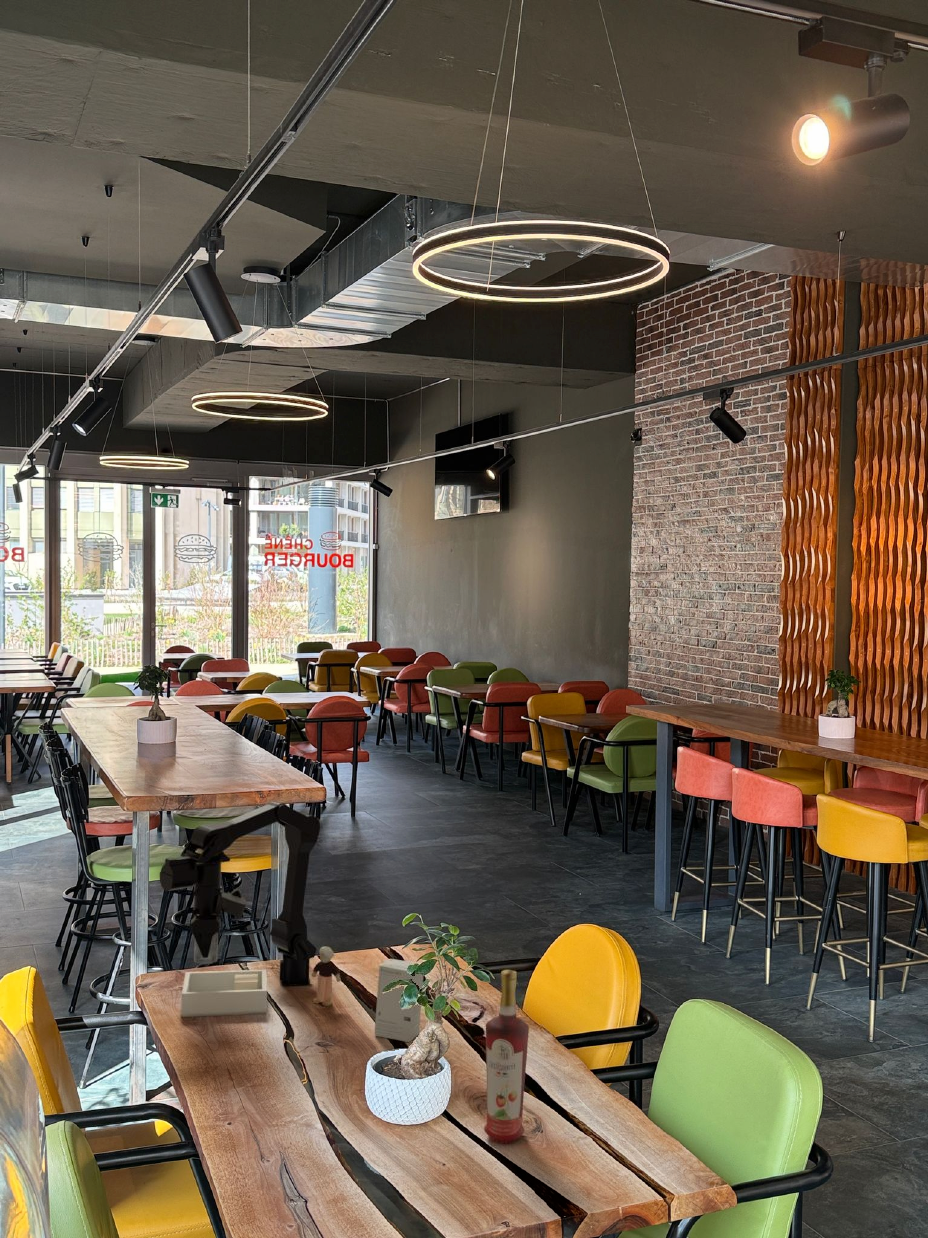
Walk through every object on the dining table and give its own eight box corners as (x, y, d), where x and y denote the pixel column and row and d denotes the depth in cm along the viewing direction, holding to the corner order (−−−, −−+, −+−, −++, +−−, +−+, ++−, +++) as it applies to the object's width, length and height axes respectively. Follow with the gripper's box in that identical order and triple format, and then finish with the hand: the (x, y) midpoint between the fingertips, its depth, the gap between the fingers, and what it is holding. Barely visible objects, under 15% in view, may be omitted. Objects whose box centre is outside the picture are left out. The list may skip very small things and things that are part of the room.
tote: (265, 991, 251) (266, 969, 251) (266, 1013, 237) (266, 990, 237) (185, 994, 248) (185, 972, 248) (181, 1017, 234) (181, 994, 234)
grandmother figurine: (305, 1003, 244) (307, 947, 244) (312, 998, 248) (314, 942, 247) (337, 1008, 242) (338, 951, 242) (344, 1002, 245) (345, 946, 245)
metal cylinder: (194, 957, 243) (195, 926, 243) (217, 956, 244) (218, 925, 244) (193, 964, 238) (194, 933, 238) (217, 964, 239) (217, 932, 239)
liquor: (529, 1131, 187) (534, 968, 187) (519, 1151, 180) (524, 982, 180) (488, 1124, 189) (493, 963, 189) (477, 1143, 182) (482, 976, 182)
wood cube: (234, 997, 245) (235, 975, 245) (256, 996, 246) (257, 974, 246) (233, 1005, 240) (234, 982, 240) (257, 1004, 241) (257, 981, 241)
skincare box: (374, 1037, 226) (376, 965, 226) (385, 1026, 232) (387, 957, 232) (411, 1043, 223) (413, 971, 223) (422, 1033, 229) (424, 962, 229)
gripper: (244, 893, 234) (242, 966, 234) (244, 872, 252) (243, 939, 252) (190, 895, 231) (189, 968, 232) (195, 873, 250) (193, 941, 250)
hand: (205, 953), depth 241 cm, fingers closed on metal cylinder, 5 cm apart
